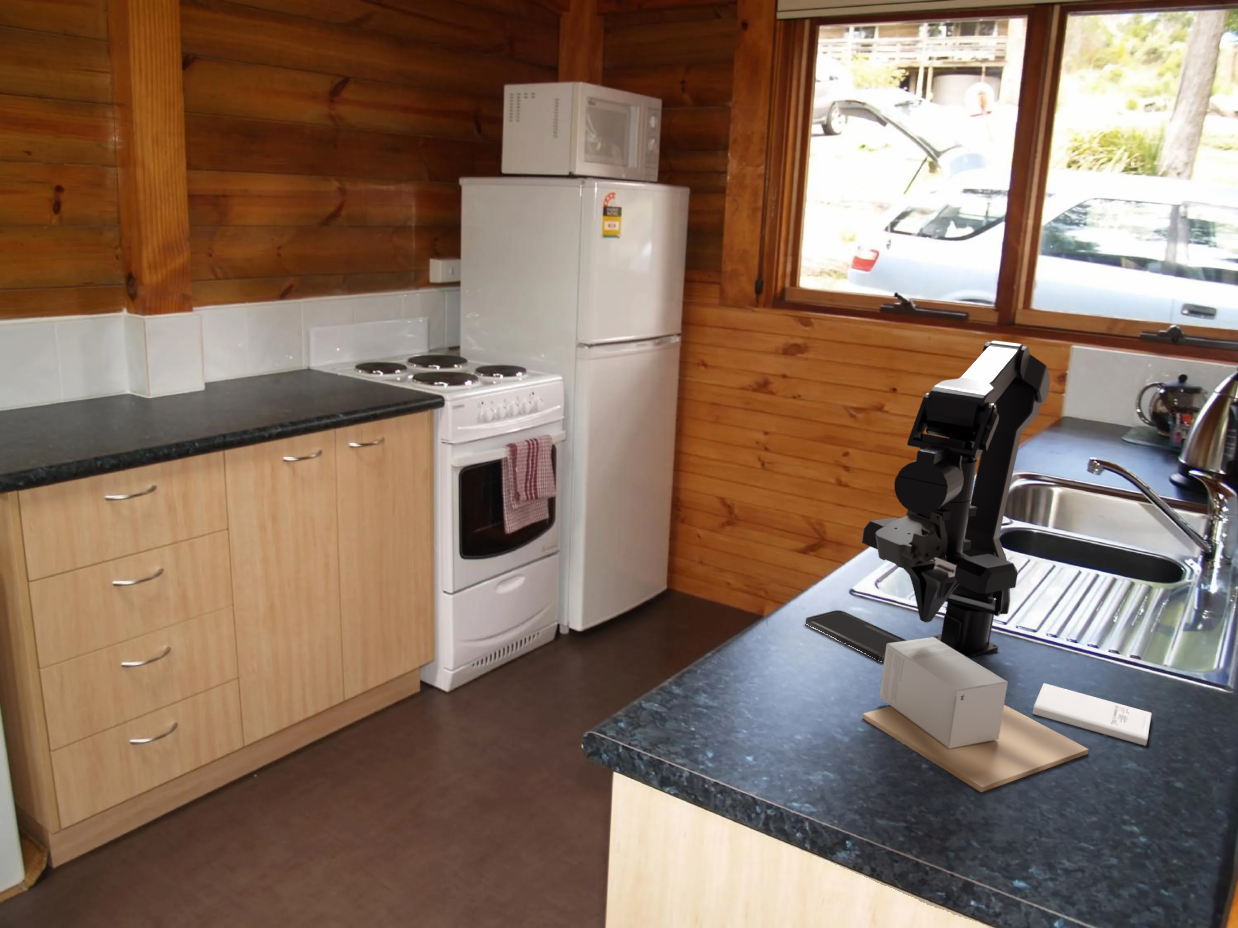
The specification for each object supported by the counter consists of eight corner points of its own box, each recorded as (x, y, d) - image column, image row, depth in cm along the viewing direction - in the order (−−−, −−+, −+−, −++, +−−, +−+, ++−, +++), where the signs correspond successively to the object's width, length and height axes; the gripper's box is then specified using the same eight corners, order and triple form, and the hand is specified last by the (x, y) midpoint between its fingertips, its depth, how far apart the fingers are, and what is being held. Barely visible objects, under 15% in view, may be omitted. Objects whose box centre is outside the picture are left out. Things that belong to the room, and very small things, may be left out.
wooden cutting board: (966, 689, 128) (967, 684, 128) (1087, 753, 114) (1088, 749, 114) (862, 718, 119) (863, 713, 118) (981, 792, 105) (982, 786, 105)
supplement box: (877, 698, 123) (947, 750, 111) (885, 641, 121) (957, 688, 110) (927, 691, 125) (999, 741, 114) (935, 635, 124) (1010, 680, 112)
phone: (885, 659, 134) (802, 618, 145) (884, 666, 134) (801, 625, 145) (923, 647, 138) (840, 608, 150) (922, 654, 138) (839, 615, 150)
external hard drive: (1041, 693, 130) (1149, 722, 124) (1031, 717, 123) (1145, 750, 117) (1043, 681, 130) (1152, 710, 124) (1033, 705, 123) (1147, 737, 117)
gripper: (837, 480, 121) (821, 602, 125) (962, 526, 106) (940, 664, 109) (903, 473, 127) (886, 590, 130) (1031, 516, 111) (1007, 647, 115)
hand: (925, 621), depth 121 cm, fingers closed
